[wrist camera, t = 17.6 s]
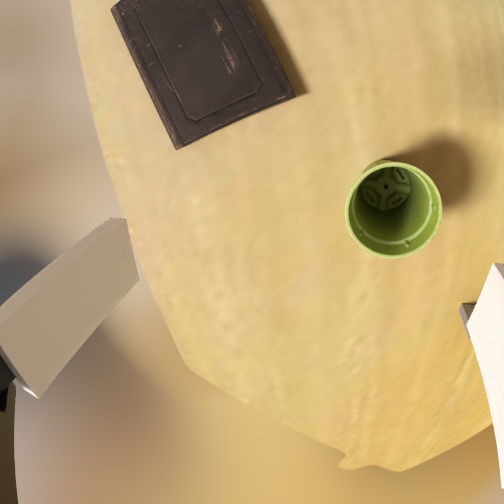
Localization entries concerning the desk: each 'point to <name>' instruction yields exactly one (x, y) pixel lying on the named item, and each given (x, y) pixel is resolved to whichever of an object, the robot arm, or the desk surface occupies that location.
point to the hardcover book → (201, 62)
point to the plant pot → (393, 210)
